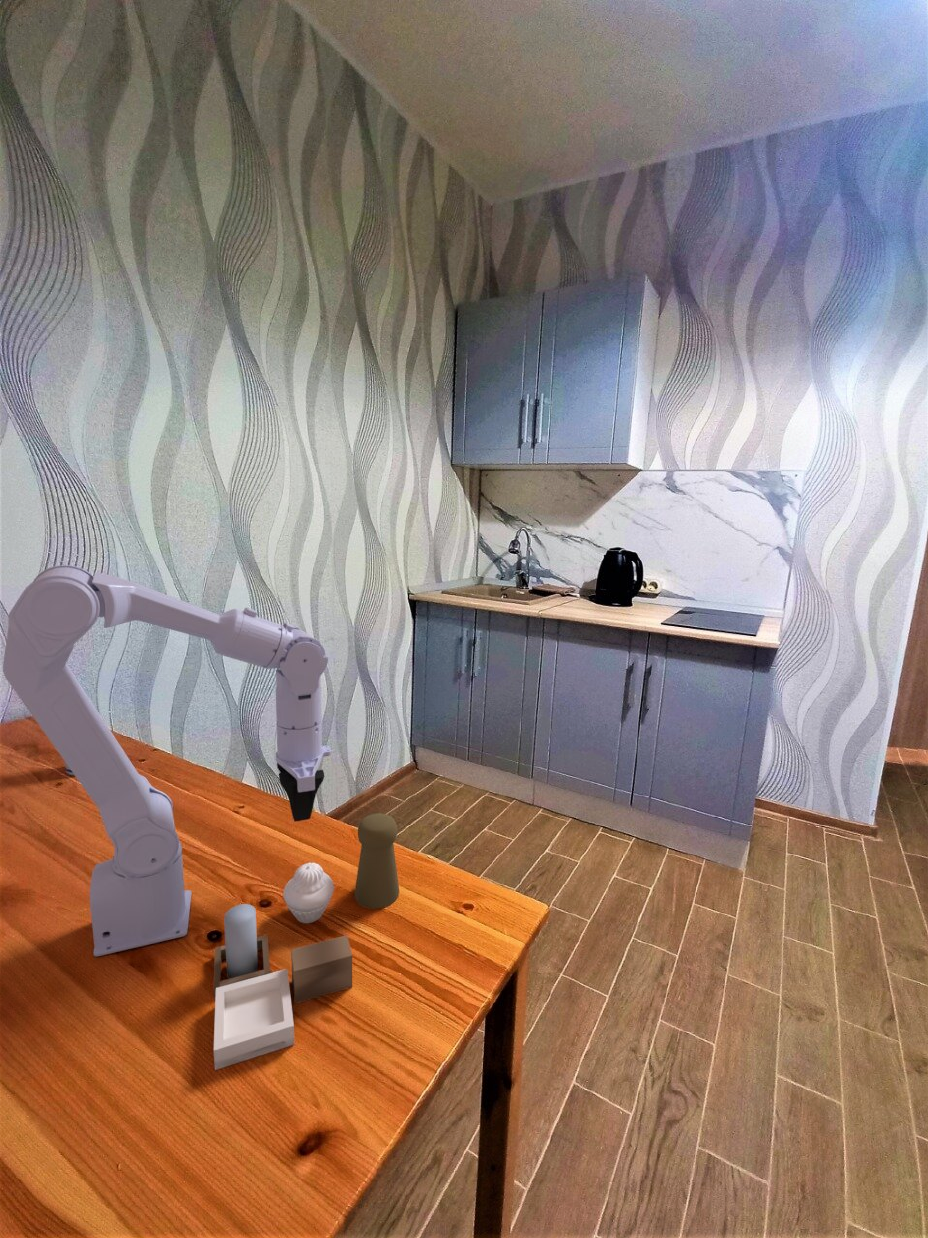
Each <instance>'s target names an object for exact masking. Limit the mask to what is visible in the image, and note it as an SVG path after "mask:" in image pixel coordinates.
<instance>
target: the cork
mask: <svg viewBox="0 0 928 1238" xmlns="http://www.w3.org/2000/svg"><path fill="white" fill-rule="evenodd" d="M397 835H398V825H397V821H396V820H395V819H394V818H393V817H392V816H391V815H389V814H385V813H379V812H378V813H377V812H376V813H372V814H369V815H367V816H365V817H363V819H362V820H361V821H360V823H359V825H358V828H357V838H358V842H359V843H360V844H361V846H360V848H361V849H360V854H359V860H358V861H359V862H358V867H357V874H356V881H355V888H354V893H353V895H354V900H355V901H356V902H357V904H358V905H360V906H361V907H363V908H367V909H370V910H371V909H372V910H377V909H384V908H386V907H389V906H391V905H392V904H394V903H395V902H396V901H397V899H398V898H399V895H400V887H399V879H398V878H399V877H398V871H397V870H398V869H397V863H396V861H397V860H396V855H395V847H394V846H395V845H394V843H395V842H396V839H397Z"/></svg>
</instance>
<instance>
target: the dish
mask: <svg viewBox="0 0 928 1238" xmlns="http://www.w3.org/2000/svg"><path fill="white" fill-rule="evenodd" d="M290 990H291V989H290V981H289V973H288V968H284V969H281V970H277V971H274V972H270V973H269V974H266V975H262V976H258V977H255V978H251V979H247V980H244V981H240V982H236V983H233V984H229V985H225V986H221V987H218V988H216V997H214V998H215V1003H214V1027H213V1028H214V1030H213V1031H214V1033H213V1060H214V1061H213V1062H214V1063H213V1064H214V1071H216V1070H220V1069H223V1068H225V1067H229V1066H231V1065H235V1064H238V1063H241V1062H244V1061H247V1060H251V1059H254V1058H257V1057H259V1056H262V1055H266V1054H269V1053H272V1052H275V1051H278V1050H279V1051H280V1050H281V1049H285V1048H288V1047H291V1046H294V1045H295V1026H294V1017H293V1016H294V1015H293V1007H292V998H291V991H290Z"/></svg>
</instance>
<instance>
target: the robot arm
mask: <svg viewBox="0 0 928 1238" xmlns="http://www.w3.org/2000/svg"><path fill="white" fill-rule="evenodd" d="M7 617H8V619H7V620H8V628H7V634H6V635H7V636H6V642H5V649H4V657H3V662H2V672H3V674H4V677H5V680H7V682H8V683H9V685H10V686H11V688H12V689H13V691H14V692H15V693H16V695H17V696H18V698H19V699H20V700H21V701H22V703H23V705H24V706H25V707H26V709H27V710H28V712H29V713H30V714H31V716H32V717H33V719H34V720H35V721H36V723H37V724H38V726H39V727H40V729H41V730H42V732H43V733H44V735H46V737H47V738H48V739H49V741H50V743H51V744H52V745H53V747H54V748H55V750H56V751H57V753H59V756H60V757H61V758H62V760H63V761H64V763H65V762H66V764H67V765H68V766H69V768H70V769H71V771H72V772H73V773H74V775H75V778H76V779H77V780H78V782H79V784H81V786H82V788H83V789H84V790H85V791H86V793H87V795H88V796H89V797H90V799H91V800H92V801H93V803H94V805H96V807H97V809H98V811H99V815H100V818H101V821H102V823H103V827H104V829H105V833H106V834H107V837H108V838H109V839H110V840H111V842H112V844H113V847H114V848H113V849H114V853H113V854H114V855H113V857H112V858H111V859H109V860H106V861H102V862H99V863H97V864H95V865H94V868H93V869H92V874H91V880H90V885H89V886H90V887H89V908H90V916H91V917H90V918H91V926H92V936H93V944H94V946H93V947H94V949H93V956H94V957H102V956H105V955H109V954H113V953H117V952H122V951H126V950H131V949H135V948H139V947H144V946H148V945H151V944H157V943H160V942H165V941H169V940H172V939H173V940H174V939H177V938H181V937H185V936H186V935H187V934H188V930H189V928H188V927H189V921H190V912H191V911H190V910H191V900H192V890H190V889H187V890H185V879H184V866H183V865H184V863H183V851H182V850H183V849H182V844H181V841H180V839H179V835H178V832H177V831H176V830H177V829H176V825H175V821H174V820H175V819H174V814H173V812H174V805H173V801H172V799H171V798H170V797H169V795H167V794H166V793H165V792H163V791H161V790H159V789H156V788H155V787H154V786H152V785H151V783H150V782H149V780H148V779H147V777H145V776H143V775H142V774H139V772H138V771H137V769H136V767H135V766H134V764H132V761H131V760H130V759H129V756H127V753H125V750H124V748H122V747H121V744H120V743H119V742H118V741H117V739H116V737H115V736H114V734H113V733H112V731H111V729H110V727H109V726H108V725H107V723H106V722H105V721H104V719H103V717H102V716H101V714H100V712H99V711H98V710H97V708H96V706H95V705H94V703H93V701H92V700H91V699H90V698H89V695H88V694H87V692H86V691H85V690H84V688H83V687H82V685H81V684H80V682H79V680H78V679H77V677H76V676H75V674H74V673H73V671H72V670H71V668H70V666H69V665H68V663H67V662H68V660H69V658H70V656H71V654H72V651H73V650H74V646H75V644H76V643H77V642H78V641H79V640H80V639H82V638H83V637H84V636H85V635H86V634H87V632H89V631H90V630H91V629H92V627H94V625H95V624H96V622H97V620H98V619H99V618H103V619H104V622H103V627H104V629H106V628H113V627H115V626H118V625H123V624H125V623H130V622H134V621H137V622H138V621H139V622H142V623H144V624H145V623H146V624H150V625H153V626H157V627H161V628H164V629H167V630H171V631H175V632H179V633H183V634H187V635H190V636H194V637H197V638H202V639H205V640H207V641H209V642H210V643H211V645H212V648H213V650H214V651H215V653H216V654H217V655H220V656H224V657H227V658H230V659H233V660H236V661H240V662H244V663H247V664H250V665H253V666H257V667H261V668H264V669H266V670H267V669H268V670H270V669H272V670H273V669H275V675H276V676H275V678H276V680H275V681H276V685H275V686H276V687H275V711H276V712H275V713H276V715H275V716H276V748H277V749H276V750H277V751H276V753H275V761H276V767H277V769H278V771H279V773H278V778H279V783H280V785H281V787H282V788H283V790H284V791H285V793H286V795H287V797H288V798H287V799H288V801H289V806H290V810H291V815H292V816H291V817H292V819H293V821H294V822H300V821H306V820H310V819H311V817H312V813H313V808H314V804H315V800H316V796H317V793H318V790H319V788H320V786H321V784H322V783H323V781H324V779H325V772H324V769H318V768H319V766H320V764H321V762H322V760H323V758H326V757H330V756H331V755H332V750H331V746H329V745H323V744H322V741H323V739H322V737H323V736H322V735H323V734H322V731H323V730H322V729H323V728H322V724H323V723H322V722H323V721H322V686H321V685H322V684H321V682H322V681H321V680H322V679H321V676H322V675H323V673H324V672H325V671H326V669H327V666H328V662H329V657H328V656H326V651H325V648H324V647H323V645H322V644H321V643H320V641H318V640H317V639H315V638H314V637H313V636H312V635H310V634H309V633H307V632H306V631H304V630H301V629H300V628H299V627H298V626H293V625H292V624H290V623H288V622H284V623H283V624H279V623H276V622H274V621H271V620H268V619H265V618H262V617H259V616H258V611H256V610H255V609H252V608H249V607H245V608H244V609H243V610H240V609H237V608H233V609H229V610H227V611H224V612H222V613H221V612H220V613H215V612H213V611H210V610H208V609H205V608H203V607H201V606H197V605H195V604H192V603H189V602H187V601H184V600H182V599H178V598H176V597H173V596H171V595H168V594H165V593H163V592H161V591H158V590H156V589H153V588H149V587H148V586H145V585H143V584H139V583H136V582H133V581H131V580H127V579H124V578H121V577H117V576H113V575H111V574H107V573H101V572H96V571H95V572H94V574H92V573H91V572H89V571H87V570H86V569H85V568H84V569H83V568H82V567H79V566H76V565H71V564H63V565H61V564H59V565H55V566H50V567H49V568H46V569H44V570H42V571H41V572H40V573H39V574H38V575H37V576H36V577H35V578H34V579H33V581H32V582H31V583H30V584H29V585H28V586H26V587H25V589H24V590H23V591H22V593H21V595H20V596H19V597H18V598H17V601H16V602H15V604H14V605H13V607H12V608H11V610H10V611H9V613H8V615H7Z"/></svg>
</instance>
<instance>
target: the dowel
mask: <svg viewBox="0 0 928 1238" xmlns="http://www.w3.org/2000/svg"><path fill="white" fill-rule="evenodd" d="M223 920H224V921H223V923H224V940H225V941H224V943H225V944H224V945H225V946H226V958H225V962H226V965H225V966H226V976H227V978H228V979H230V978H234V977H238V976H242V975H245V974H249V973H253V972H257V971H258V967H259V966H258V965H259V964H258V950H257V937H258V936H257V935H258V933H257V931H258V930H257V911H256V908H255V906H253V905H251V904H249V903H248V904H247V903H243V904H238V905H235V906H233V907H231V908H230V909H229V910H228V911H226V913H225V914H224V918H223Z"/></svg>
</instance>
